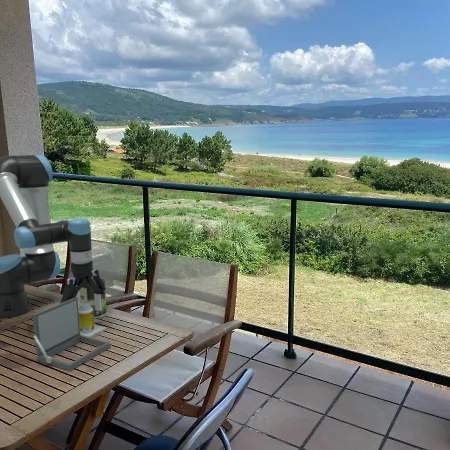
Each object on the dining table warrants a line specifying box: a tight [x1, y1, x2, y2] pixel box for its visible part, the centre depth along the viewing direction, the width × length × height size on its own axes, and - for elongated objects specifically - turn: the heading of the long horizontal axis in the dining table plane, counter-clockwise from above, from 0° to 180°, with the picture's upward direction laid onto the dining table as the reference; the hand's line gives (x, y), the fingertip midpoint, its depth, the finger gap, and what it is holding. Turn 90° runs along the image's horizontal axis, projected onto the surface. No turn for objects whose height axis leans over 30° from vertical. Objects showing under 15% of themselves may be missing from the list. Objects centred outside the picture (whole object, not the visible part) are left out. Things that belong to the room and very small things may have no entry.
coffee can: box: [78, 277, 108, 320], centre depth 180 cm, size 10×10×14 cm
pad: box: [80, 324, 107, 338], centre depth 165 cm, size 10×10×1 cm
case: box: [32, 296, 111, 372], centre depth 146 cm, size 15×19×16 cm
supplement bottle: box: [78, 302, 95, 332], centre depth 164 cm, size 6×6×10 cm
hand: (85, 316), depth 164 cm, fingers open, 13 cm apart
